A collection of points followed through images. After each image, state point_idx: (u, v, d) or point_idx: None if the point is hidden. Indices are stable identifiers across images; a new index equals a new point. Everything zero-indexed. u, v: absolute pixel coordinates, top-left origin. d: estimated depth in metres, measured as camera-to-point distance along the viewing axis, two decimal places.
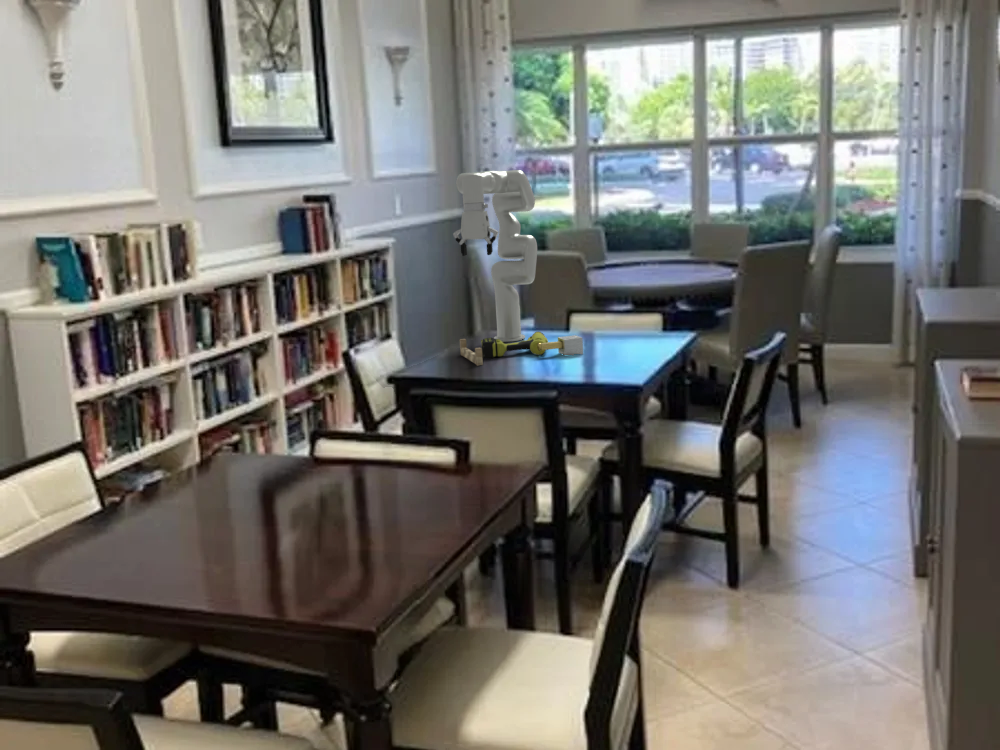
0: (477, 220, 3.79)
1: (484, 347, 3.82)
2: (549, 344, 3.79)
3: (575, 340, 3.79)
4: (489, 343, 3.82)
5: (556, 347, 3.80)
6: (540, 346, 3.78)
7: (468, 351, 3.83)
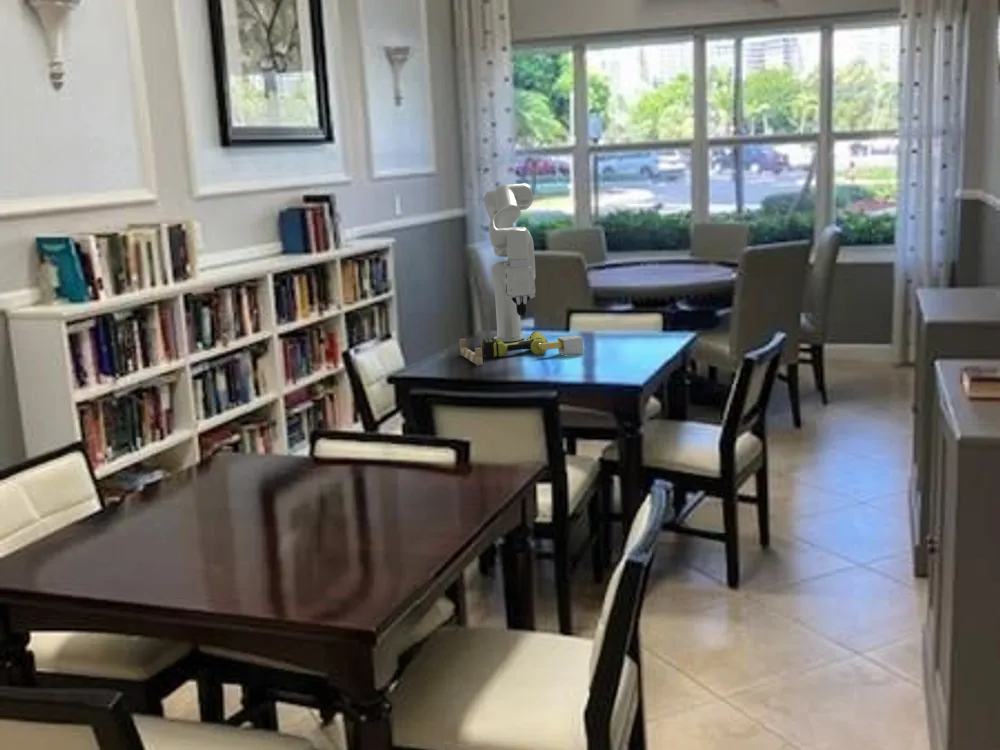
0: None
1: (485, 347, 3.82)
2: (549, 344, 3.79)
3: (575, 340, 3.79)
4: (490, 343, 3.82)
5: (556, 347, 3.80)
6: (540, 346, 3.78)
7: (468, 351, 3.83)
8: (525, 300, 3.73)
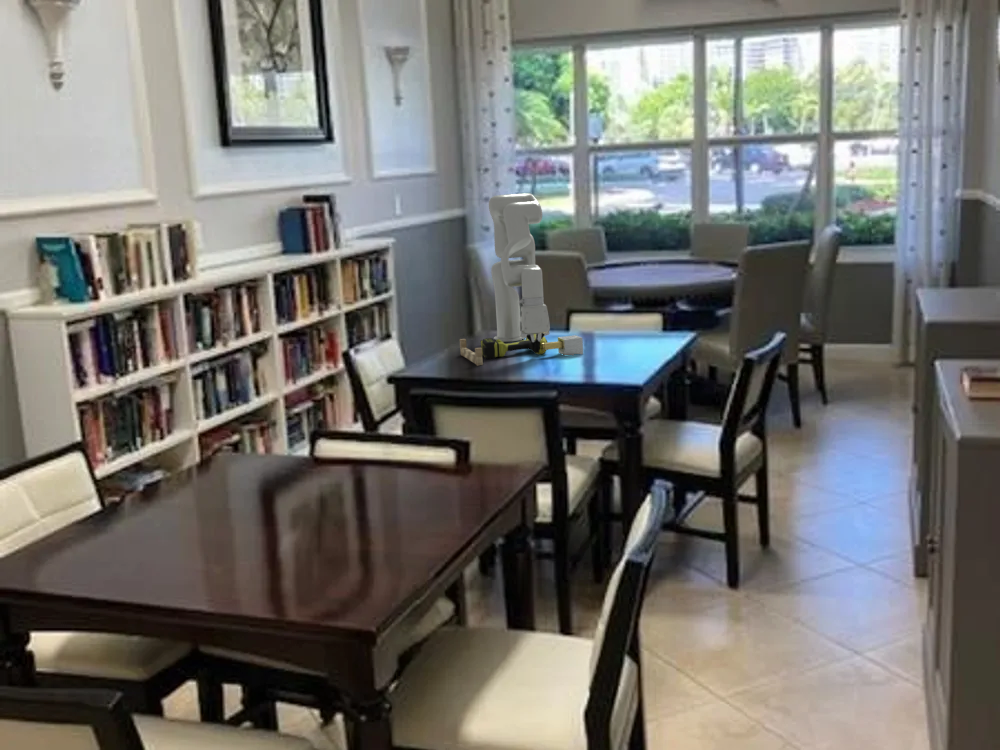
0: None
1: (486, 347, 3.81)
2: (552, 344, 3.79)
3: (575, 340, 3.79)
4: (491, 343, 3.81)
5: (559, 347, 3.80)
6: (543, 346, 3.78)
7: (468, 351, 3.83)
8: (539, 337, 3.77)
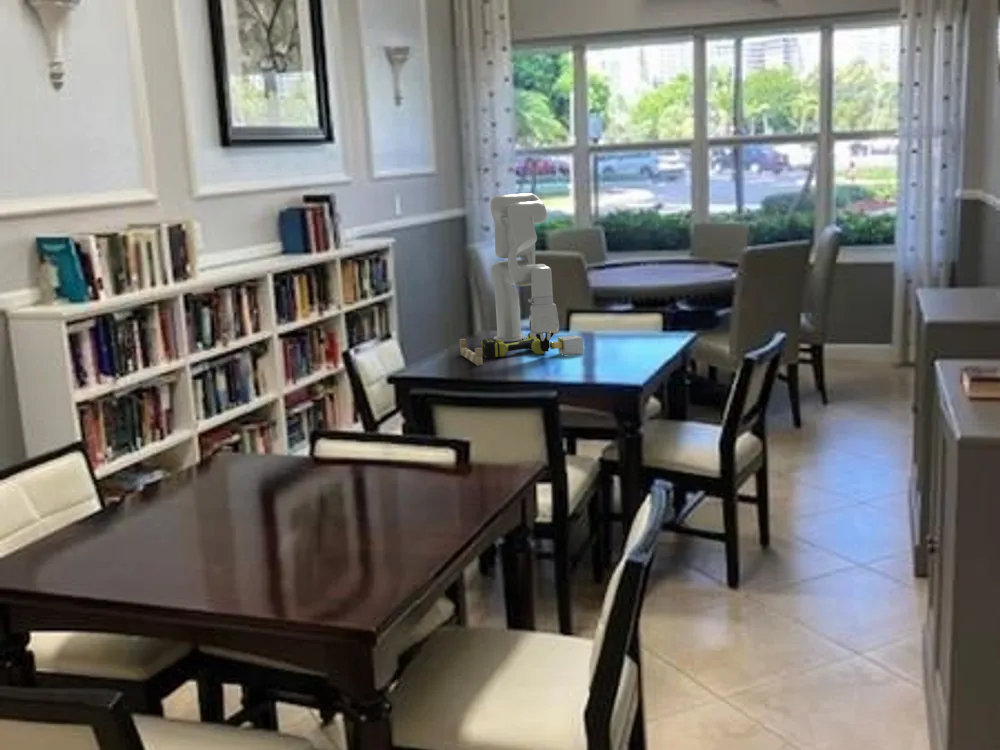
0: None
1: (486, 347, 3.81)
2: (562, 343, 3.80)
3: (575, 340, 3.79)
4: (491, 343, 3.81)
5: None
6: (553, 345, 3.79)
7: (468, 351, 3.83)
8: (549, 336, 3.78)
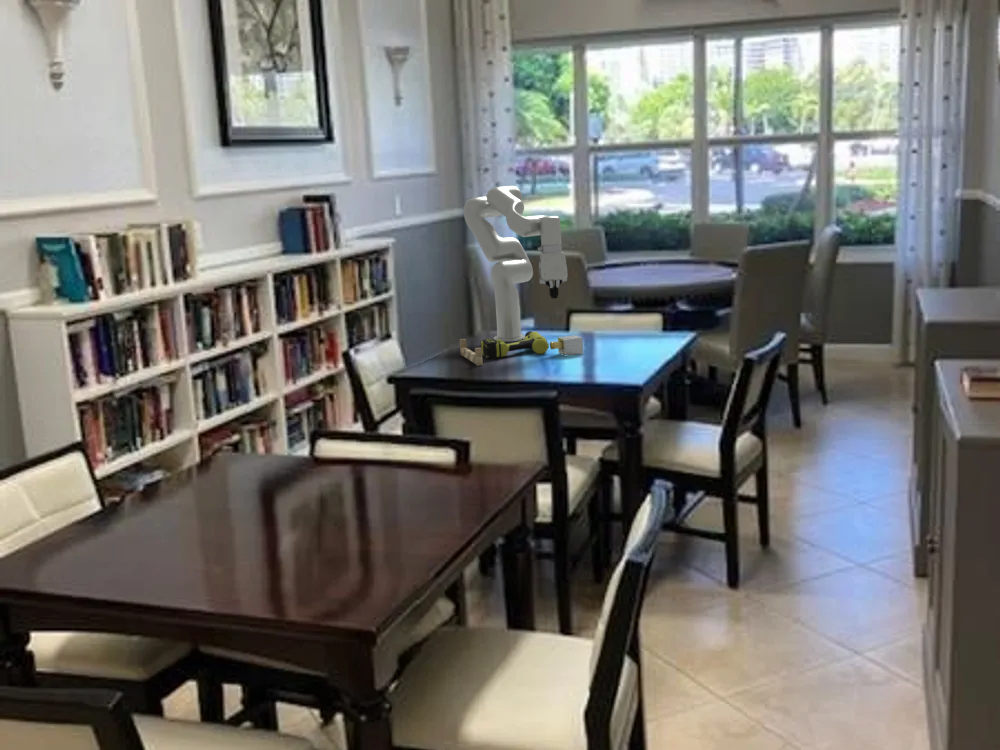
0: None
1: (488, 348, 3.80)
2: (562, 343, 3.80)
3: (575, 340, 3.79)
4: (493, 343, 3.81)
5: None
6: (553, 345, 3.79)
7: (468, 351, 3.83)
8: (558, 284, 3.93)
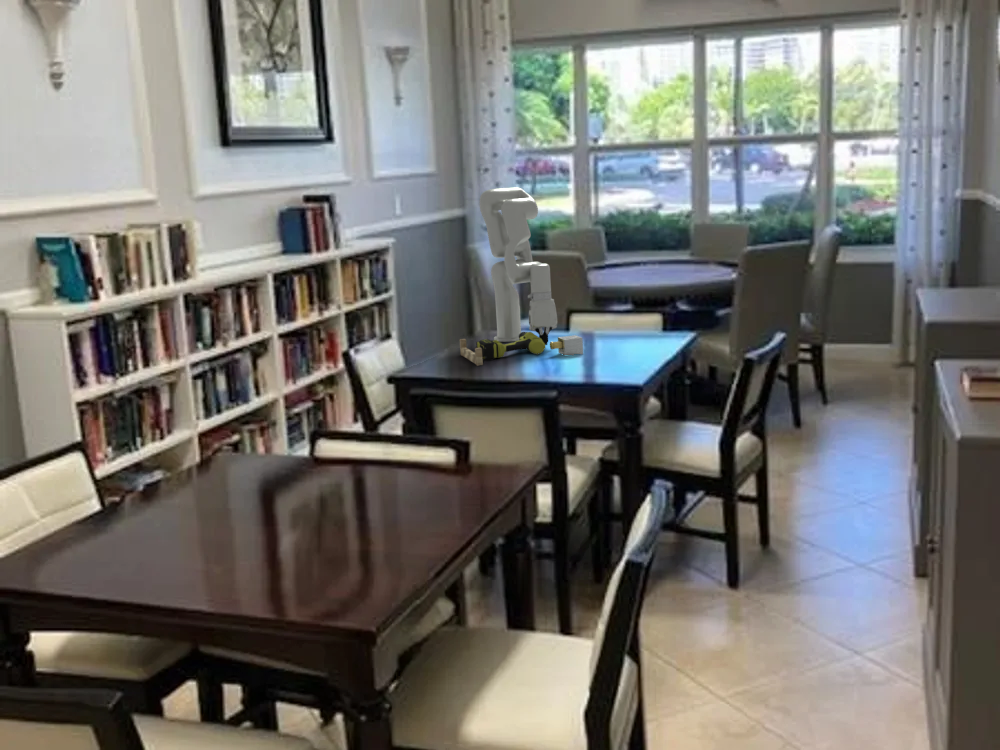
0: None
1: (486, 348, 3.79)
2: (562, 343, 3.80)
3: (575, 340, 3.79)
4: (490, 344, 3.79)
5: None
6: (553, 345, 3.79)
7: (468, 351, 3.83)
8: (547, 330, 3.95)
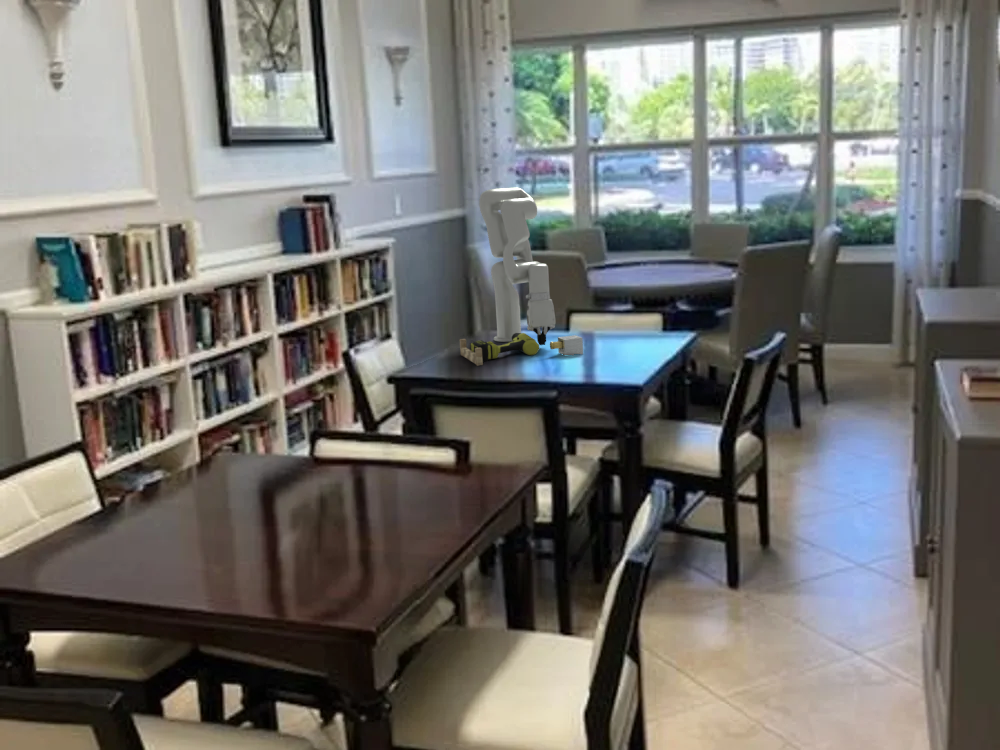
0: None
1: None
2: (562, 343, 3.80)
3: (575, 340, 3.79)
4: (485, 345, 3.78)
5: None
6: (553, 345, 3.79)
7: (468, 351, 3.83)
8: (545, 331, 3.96)
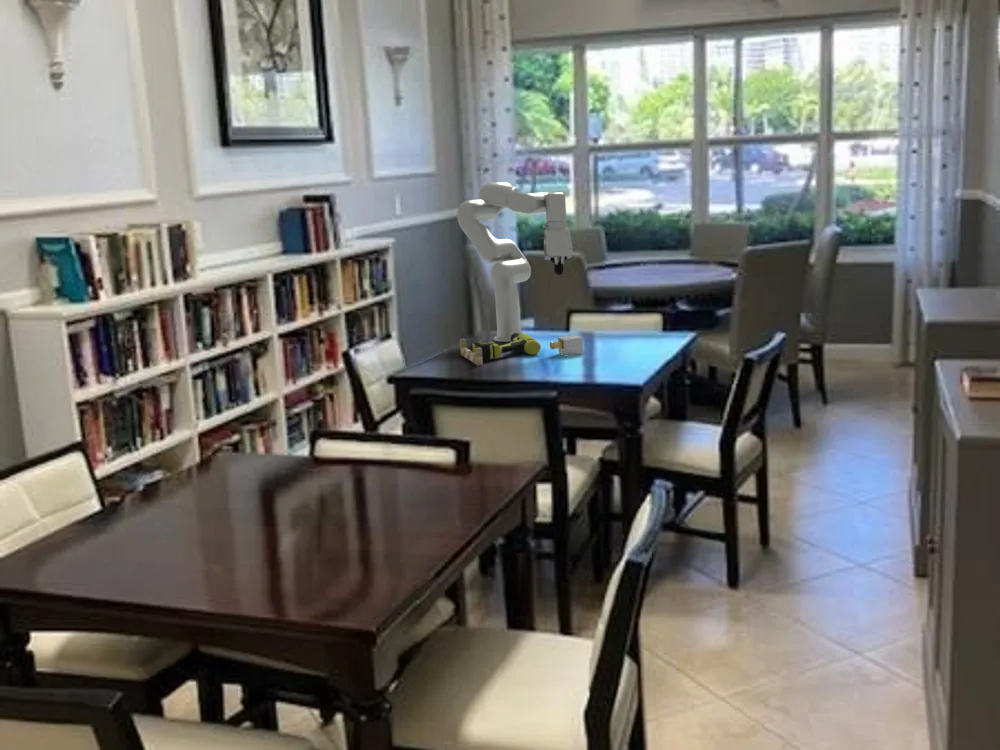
0: None
1: (482, 350, 3.76)
2: (562, 343, 3.80)
3: (575, 340, 3.79)
4: (487, 346, 3.77)
5: None
6: (553, 345, 3.79)
7: (468, 351, 3.83)
8: (562, 260, 3.96)
